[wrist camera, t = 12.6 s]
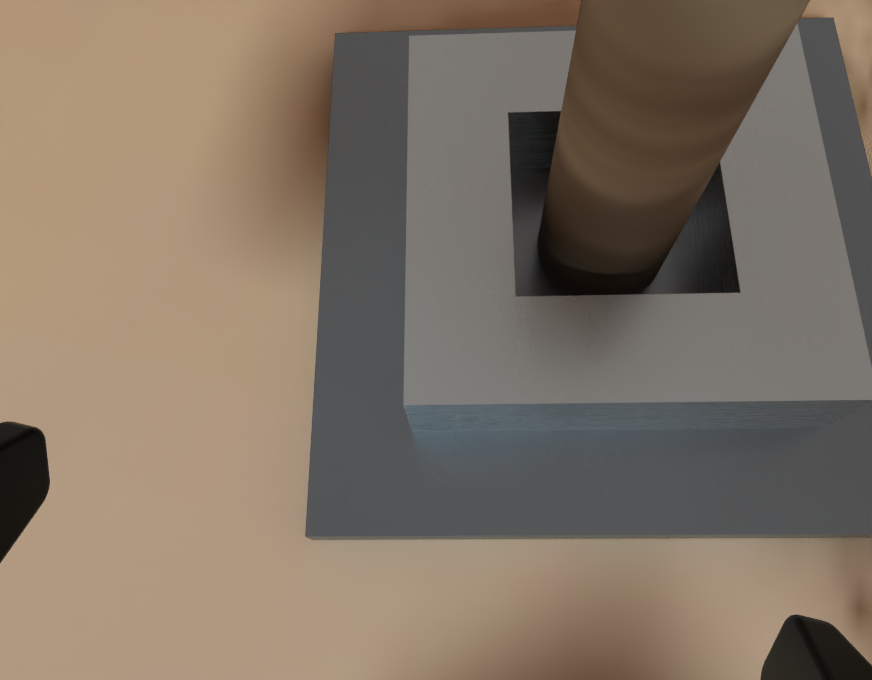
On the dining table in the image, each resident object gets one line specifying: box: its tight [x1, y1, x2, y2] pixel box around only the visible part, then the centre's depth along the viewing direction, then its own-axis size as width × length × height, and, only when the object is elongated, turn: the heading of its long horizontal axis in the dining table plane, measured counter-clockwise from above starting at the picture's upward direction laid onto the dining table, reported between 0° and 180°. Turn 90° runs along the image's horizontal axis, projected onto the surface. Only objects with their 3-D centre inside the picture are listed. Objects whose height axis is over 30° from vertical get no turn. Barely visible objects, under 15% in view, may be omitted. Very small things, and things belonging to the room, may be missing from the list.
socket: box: [305, 18, 872, 540], centre depth 23 cm, size 18×18×4 cm
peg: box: [537, 0, 810, 296], centre depth 18 cm, size 4×4×12 cm
